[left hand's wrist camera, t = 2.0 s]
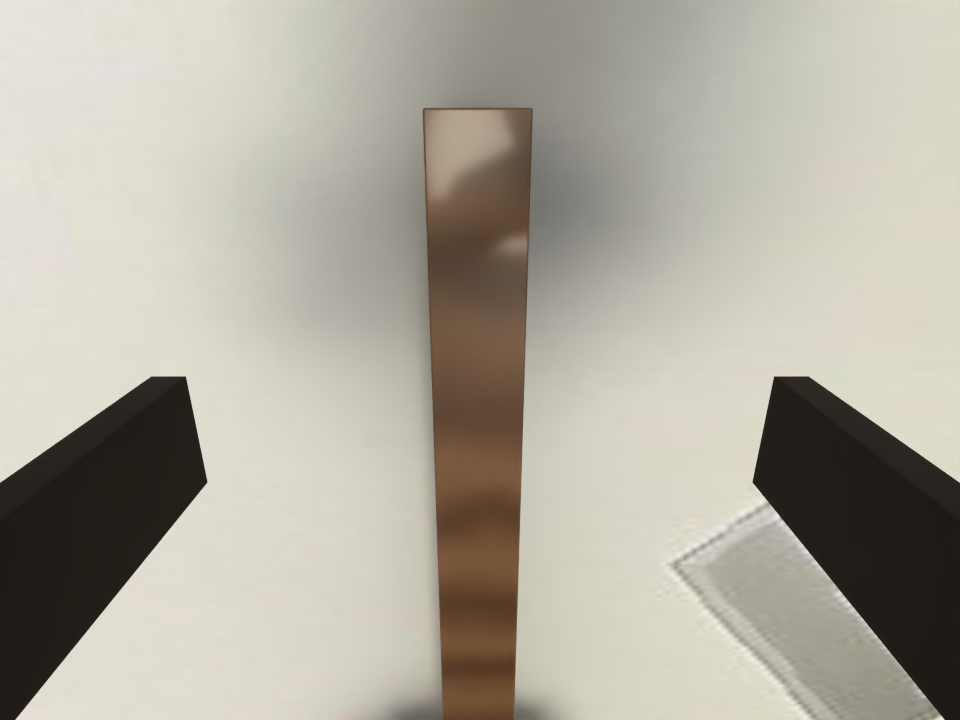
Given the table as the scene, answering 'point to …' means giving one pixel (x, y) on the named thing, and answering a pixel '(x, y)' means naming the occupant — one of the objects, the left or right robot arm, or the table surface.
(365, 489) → the table surface
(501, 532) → the beam
